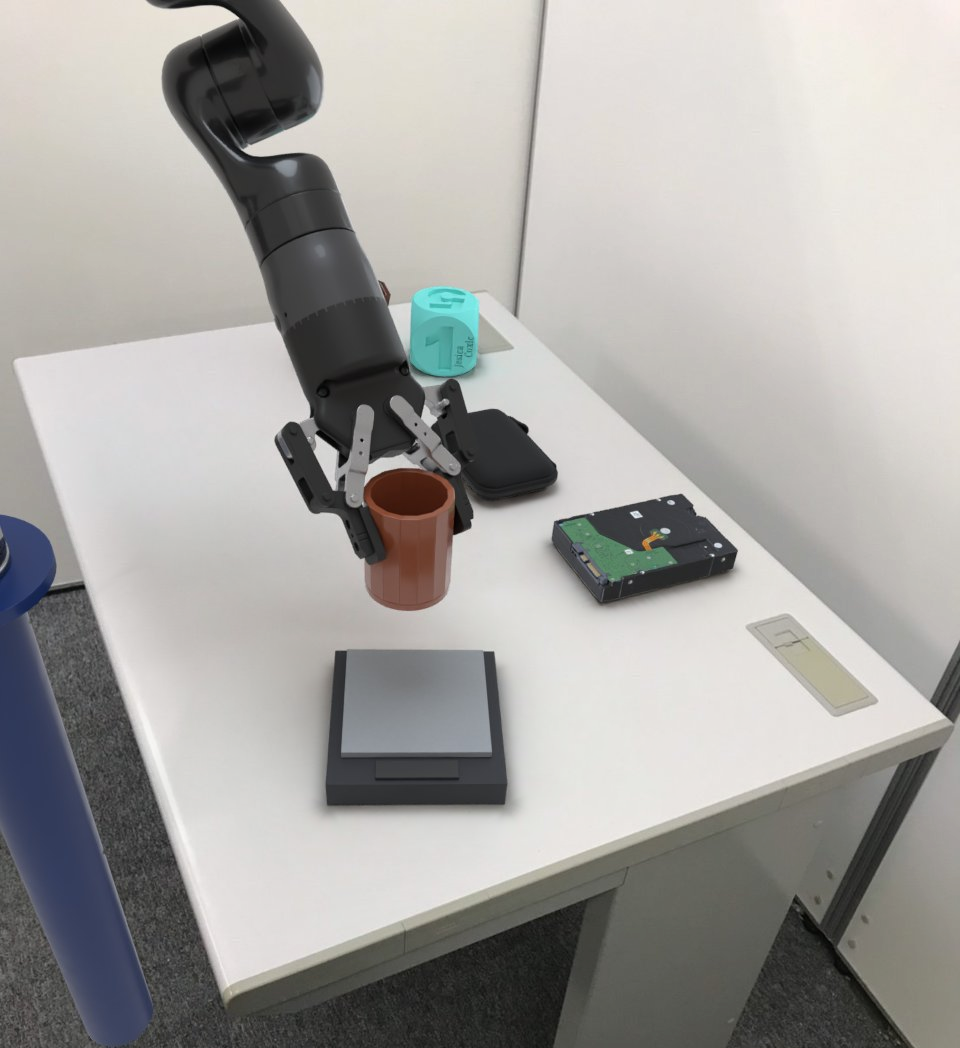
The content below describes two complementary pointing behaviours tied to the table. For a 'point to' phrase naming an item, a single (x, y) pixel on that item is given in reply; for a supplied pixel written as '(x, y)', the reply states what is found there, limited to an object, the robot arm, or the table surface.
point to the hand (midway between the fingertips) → (421, 545)
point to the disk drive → (642, 547)
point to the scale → (415, 729)
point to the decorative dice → (444, 331)
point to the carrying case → (504, 457)
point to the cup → (411, 538)
